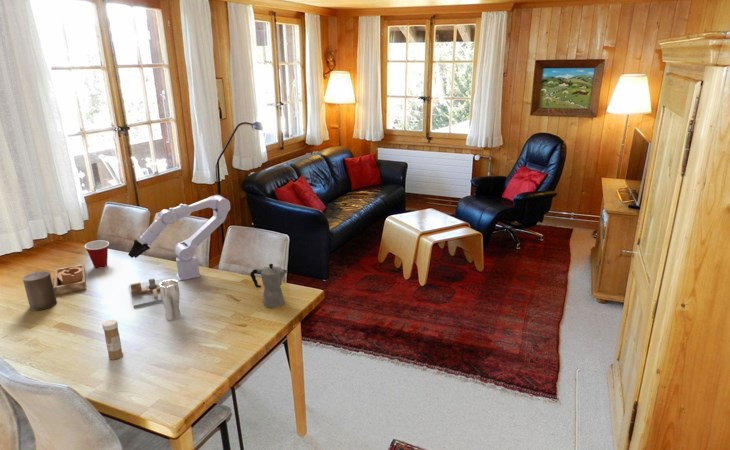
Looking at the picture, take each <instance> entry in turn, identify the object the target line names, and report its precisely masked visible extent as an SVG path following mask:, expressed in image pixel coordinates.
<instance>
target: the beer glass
mask: <svg viewBox="0 0 730 450" xmlns="http://www.w3.org/2000/svg"><path fill="white" fill-rule="evenodd" d="M180 293H181V292H180V287H179V283H178V280H177V279H172V280H166V281H163V282H161V283H160V294H161V299H162V302H161V303H162V305H163V307H164V311H165V316H164V317H165V320H166V321H167V322H168V321H169V322H170V321H173V322H174V321H177V320H179V319H180V318H182V312H181V308H180V299H181V298H180V296H181V295H180Z"/></svg>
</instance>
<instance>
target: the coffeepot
mask: <svg viewBox="0 0 730 450" xmlns="http://www.w3.org/2000/svg"><path fill="white" fill-rule="evenodd" d="M287 273H288V270H287V269H285V268H282V267H281V266H275V265H274V264H273V263H269V264H268V266H266V267H264V268H259V269H256V268H255V269H253V270H252V271H251V272H250V274H249V275H250V277H251V280H252V281H253V285H254V286H255V288H256V289H257V288H262V285H263V287H264V289H263V296H262V304H263V306H264V307H265V308H268V309H269V308H270V309H275V308H279V307H281V306H283V305H284V303H285V299H284V294H283V291H282V287H281V286H282V283H283V278H284V277H285V275H286V274H287ZM255 274H256V275H260V276H261V277H260V278H261V281H262V285H261V284H259V283H258V281H257V277H256V275H255Z"/></svg>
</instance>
